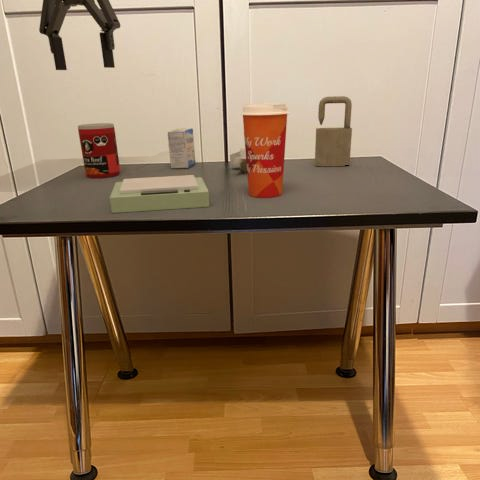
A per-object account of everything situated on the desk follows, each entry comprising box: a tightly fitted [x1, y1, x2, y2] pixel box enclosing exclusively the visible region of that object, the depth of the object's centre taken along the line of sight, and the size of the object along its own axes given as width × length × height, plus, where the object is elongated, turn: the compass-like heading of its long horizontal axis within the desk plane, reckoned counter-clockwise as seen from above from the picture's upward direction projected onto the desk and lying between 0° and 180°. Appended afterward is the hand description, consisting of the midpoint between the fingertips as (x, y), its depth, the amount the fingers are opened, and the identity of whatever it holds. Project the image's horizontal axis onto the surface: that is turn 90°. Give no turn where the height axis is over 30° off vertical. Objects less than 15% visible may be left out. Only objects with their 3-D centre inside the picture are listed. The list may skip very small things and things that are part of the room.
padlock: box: [314, 95, 353, 167], centre depth 112 cm, size 4×8×15 cm, turn 82°
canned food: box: [77, 122, 121, 179], centre depth 110 cm, size 8×8×11 cm
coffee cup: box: [240, 103, 291, 199], centre depth 84 cm, size 8×8×15 cm
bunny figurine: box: [229, 147, 247, 173], centre depth 111 cm, size 10×5×15 cm
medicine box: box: [167, 127, 196, 170], centre depth 119 cm, size 8×4×9 cm, turn 171°
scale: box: [109, 174, 210, 214], centre depth 85 cm, size 16×14×3 cm
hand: (84, 69), depth 107 cm, fingers open, 13 cm apart
